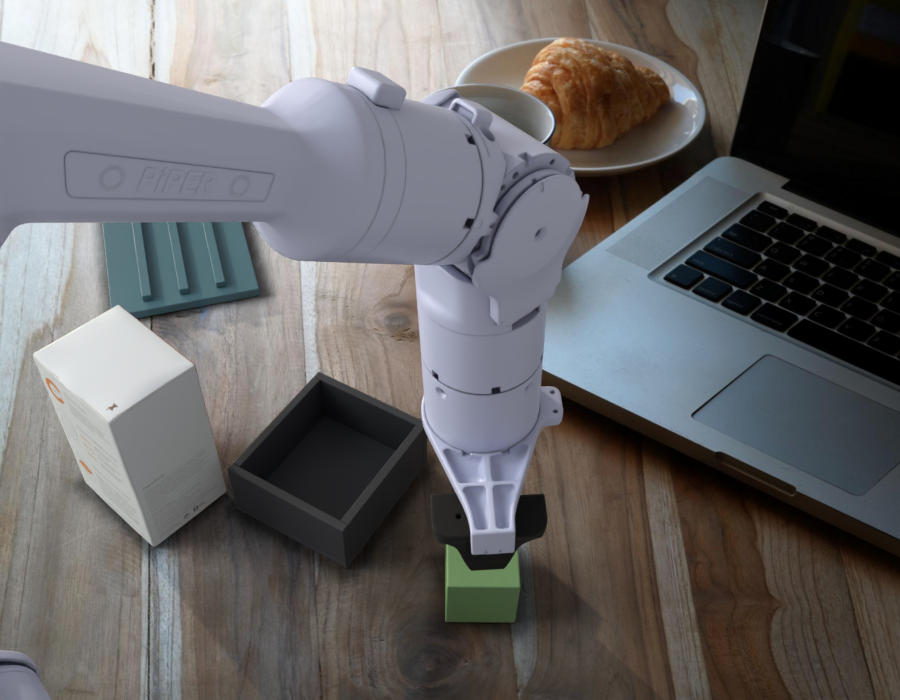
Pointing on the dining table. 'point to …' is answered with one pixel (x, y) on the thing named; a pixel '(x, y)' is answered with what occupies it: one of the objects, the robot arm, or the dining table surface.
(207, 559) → the dining table surface
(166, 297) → the drainboard
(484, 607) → the block
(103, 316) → the small box
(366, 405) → the dark grey open tray
